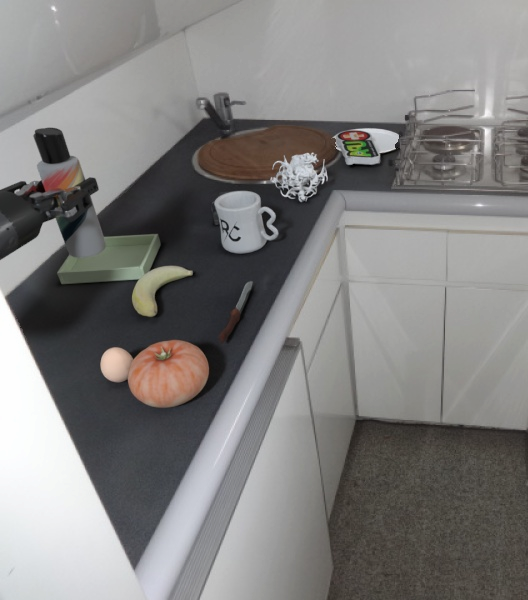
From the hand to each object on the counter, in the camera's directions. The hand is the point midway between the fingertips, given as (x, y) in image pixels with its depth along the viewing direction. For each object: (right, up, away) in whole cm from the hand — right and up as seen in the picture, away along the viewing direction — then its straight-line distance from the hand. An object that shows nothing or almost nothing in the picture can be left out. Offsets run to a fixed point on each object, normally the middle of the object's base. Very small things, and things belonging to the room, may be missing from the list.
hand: (77, 181), depth 91 cm
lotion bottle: (-1, -11, +4) cm, 11 cm away
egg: (+9, -31, -4) cm, 32 cm away
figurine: (+26, +17, +44) cm, 54 cm away
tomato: (+18, -32, -6) cm, 38 cm away
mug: (+20, -7, +29) cm, 36 cm away
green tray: (-6, -11, +23) cm, 26 cm away
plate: (+41, +26, +76) cm, 90 cm away
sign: (+44, +24, +68) cm, 84 cm away
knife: (+23, -22, +9) cm, 33 cm away
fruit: (+8, -18, +14) cm, 24 cm away
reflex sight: (+11, +1, +41) cm, 42 cm away
